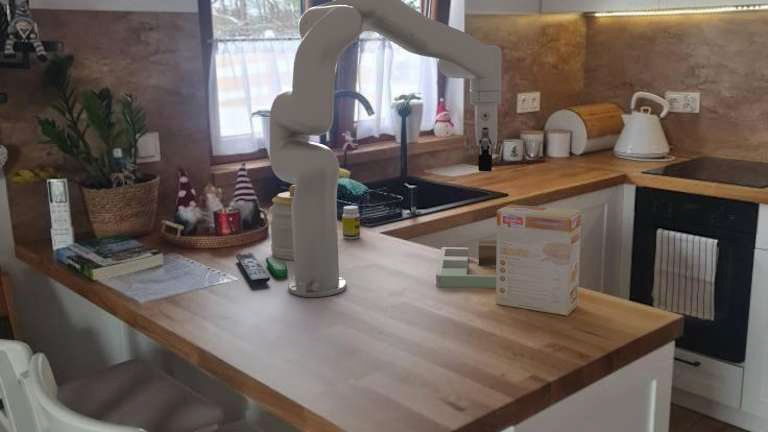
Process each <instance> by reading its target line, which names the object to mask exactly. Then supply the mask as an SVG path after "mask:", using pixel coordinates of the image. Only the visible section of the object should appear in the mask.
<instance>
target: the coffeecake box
mask: <svg viewBox="0 0 768 432" xmlns="http://www.w3.org/2000/svg"><path fill="white" fill-rule="evenodd" d="M581 224H582V210H577V209H566V208H554V207H545V206H543V207H542V206H531V205H519V204H507V205H505V206H504V207H501V208H499V209H497V210H496V240H497V248H496V266H495V270H496V271H495V275H496V288H495V305H498V306H499V305H500V306H507V307H514V308H518V309H525V310H532V311H538V312H542V313H549V314H556V315H562V316H566V317H568V316H569V315H570V314H571V312H573V311H574V310H575V309H576V308H578V306H579V288H580V287H579V284H580V282H579V281H580V280H579V279H580V261H581V260H580V253H581V231H582V230H581Z"/></svg>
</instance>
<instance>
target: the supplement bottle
mask: <svg viewBox="0 0 768 432" xmlns="http://www.w3.org/2000/svg"><path fill="white" fill-rule="evenodd" d="M341 216H342V217H341V218H342V220H341V221H342V237H343V238H344V239H345V240H346V239H347V240H355V239H359V238H361V222H360V221H361V220H360V219H361V218H360V216H361V215H360V213H359V206H357V205H346V206H344V207H343V214H342V215H341Z"/></svg>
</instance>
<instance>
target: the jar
mask: <svg viewBox="0 0 768 432" xmlns="http://www.w3.org/2000/svg"><path fill="white" fill-rule="evenodd" d="M294 191H295V184H292V185H290V186H289V188H288V191H283V192H280V193H278V194H276V196H275V197H273V198H272V199H271V202H272V203H273V205H272V206H270V207H269V208H268V211H269V213H270V215H271V219H270V221H269V224H270V236H271V244H270V247H271V249H270V250H271V252H272V256H273V257H274V258H276V259H280V260H288V261H294V250H293V229H292V200H293V195H294Z"/></svg>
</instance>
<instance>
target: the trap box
mask: <svg viewBox="0 0 768 432" xmlns="http://www.w3.org/2000/svg"><path fill="white" fill-rule="evenodd" d="M468 267H469V247H462V246H461V247H460V246H459V247H458V246H457V247H454V246H453V247H452V246H450V247H449V246H448V247H447V246H444V247H443V246H442V247H441V248H440V254H439V258H438V263H437V269H436V274H435V287H436V288H437V287H438V288H477V289H478V288H479V289H480V288H483V289H484V288H487V289H490V288H491V289H496V274H468V269H469V268H468Z"/></svg>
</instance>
